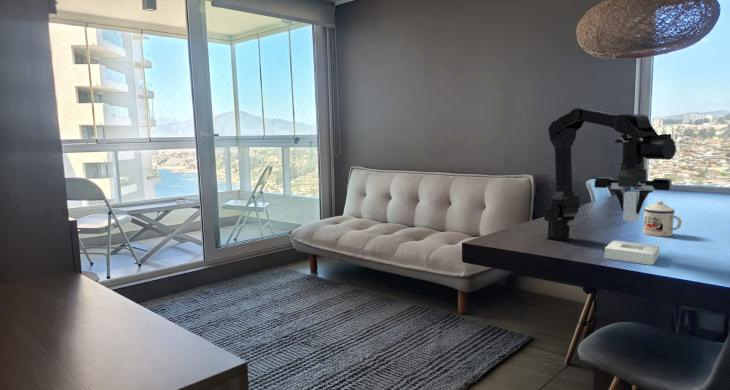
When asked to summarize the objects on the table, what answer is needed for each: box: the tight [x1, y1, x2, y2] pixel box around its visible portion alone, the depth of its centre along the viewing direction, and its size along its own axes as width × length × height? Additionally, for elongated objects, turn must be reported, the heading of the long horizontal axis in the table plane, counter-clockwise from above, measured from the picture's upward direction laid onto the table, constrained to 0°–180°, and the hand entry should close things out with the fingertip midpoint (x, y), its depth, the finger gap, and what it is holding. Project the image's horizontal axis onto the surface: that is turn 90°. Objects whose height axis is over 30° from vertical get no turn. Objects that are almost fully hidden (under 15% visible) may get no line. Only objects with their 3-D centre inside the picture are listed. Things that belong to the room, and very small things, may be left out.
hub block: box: [603, 239, 660, 266], centre depth 136 cm, size 12×12×3 cm
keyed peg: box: [622, 191, 640, 223], centre depth 136 cm, size 3×5×8 cm
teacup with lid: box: [642, 200, 683, 238], centre depth 163 cm, size 12×9×12 cm
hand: (630, 213), depth 136 cm, fingers closed on keyed peg, 3 cm apart
